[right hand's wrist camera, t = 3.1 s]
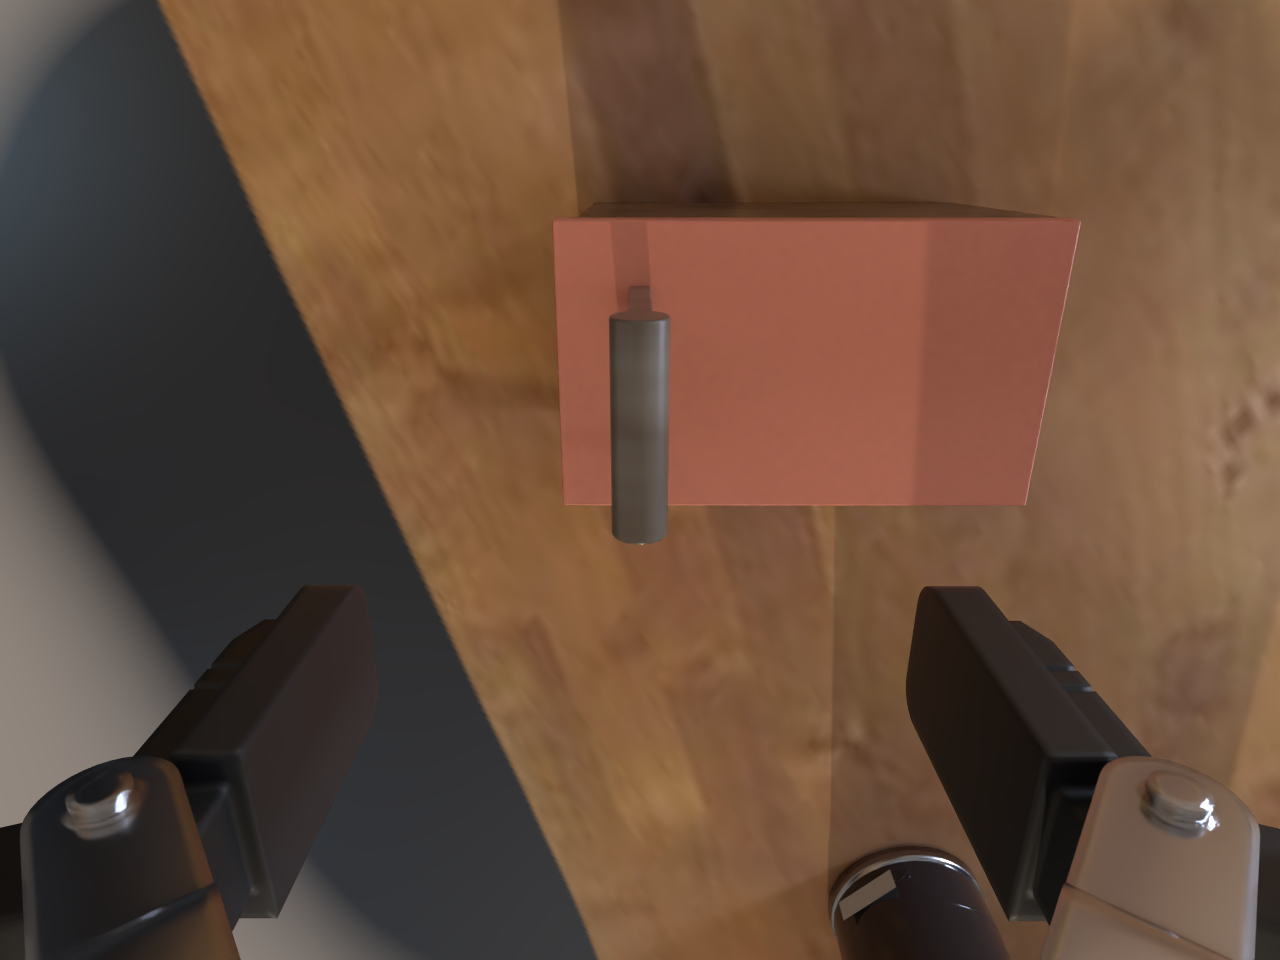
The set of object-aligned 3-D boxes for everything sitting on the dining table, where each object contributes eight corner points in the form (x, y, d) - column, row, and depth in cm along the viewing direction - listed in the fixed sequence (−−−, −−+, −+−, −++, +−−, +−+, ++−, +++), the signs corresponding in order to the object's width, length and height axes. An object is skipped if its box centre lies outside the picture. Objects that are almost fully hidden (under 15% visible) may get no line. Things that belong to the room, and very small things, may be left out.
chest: (598, 412, 38) (584, 491, 29) (594, 202, 35) (577, 217, 26) (921, 412, 38) (1009, 491, 29) (950, 202, 35) (1061, 217, 26)
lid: (566, 492, 29) (540, 605, 22) (555, 217, 26) (521, 240, 18) (1010, 492, 29) (1138, 606, 22) (1061, 217, 26) (1235, 240, 18)
